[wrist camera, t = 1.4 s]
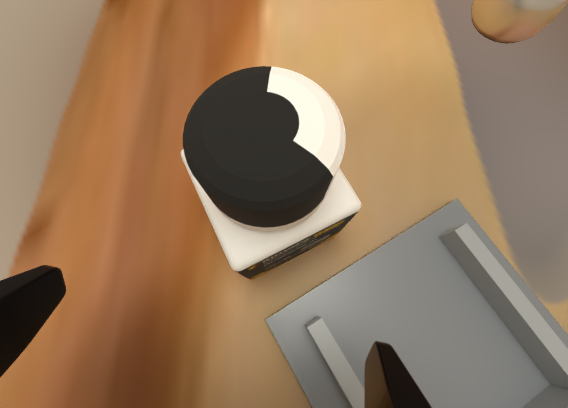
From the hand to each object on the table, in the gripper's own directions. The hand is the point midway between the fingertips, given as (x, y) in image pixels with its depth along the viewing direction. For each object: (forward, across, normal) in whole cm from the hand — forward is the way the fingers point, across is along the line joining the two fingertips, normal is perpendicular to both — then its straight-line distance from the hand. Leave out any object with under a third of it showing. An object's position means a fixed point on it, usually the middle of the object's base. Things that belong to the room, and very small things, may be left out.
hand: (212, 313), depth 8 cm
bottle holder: (+8, -12, +9) cm, 17 cm away
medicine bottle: (+13, 0, +4) cm, 14 cm away
